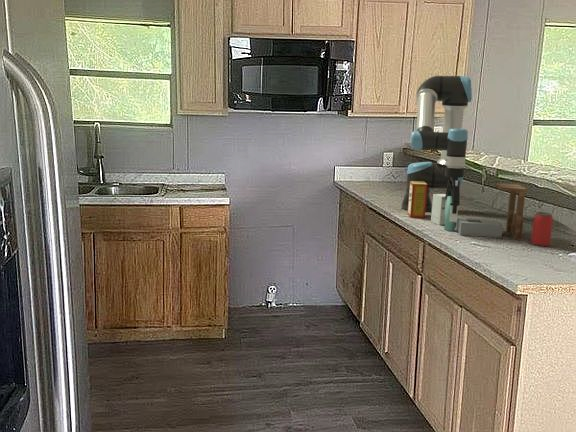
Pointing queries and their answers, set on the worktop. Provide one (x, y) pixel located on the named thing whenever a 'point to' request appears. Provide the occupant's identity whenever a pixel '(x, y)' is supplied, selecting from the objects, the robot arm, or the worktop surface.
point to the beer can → (542, 229)
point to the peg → (448, 224)
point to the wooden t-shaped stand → (513, 219)
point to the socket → (479, 227)
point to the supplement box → (438, 209)
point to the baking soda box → (417, 199)
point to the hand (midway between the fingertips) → (450, 218)
